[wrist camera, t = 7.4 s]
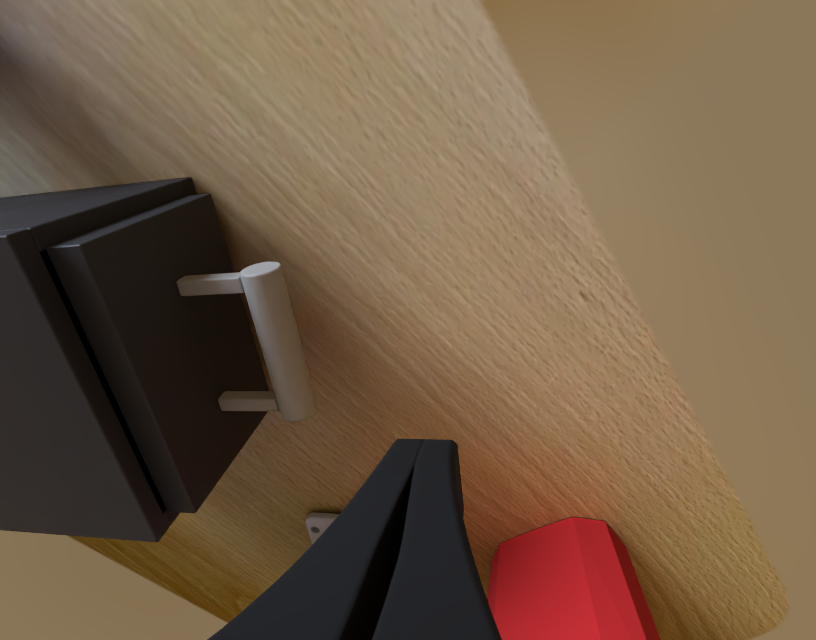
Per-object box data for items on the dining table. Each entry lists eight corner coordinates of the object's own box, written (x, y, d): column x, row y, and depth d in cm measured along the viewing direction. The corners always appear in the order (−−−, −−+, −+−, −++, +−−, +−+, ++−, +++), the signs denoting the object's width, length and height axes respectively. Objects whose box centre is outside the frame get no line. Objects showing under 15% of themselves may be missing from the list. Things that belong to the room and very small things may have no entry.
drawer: (302, 183, 18) (205, 234, 12) (350, 404, 23) (294, 520, 17) (2, 214, 21) (-189, 266, 15) (95, 403, 26) (-27, 500, 20)
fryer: (192, 176, 20) (5, 235, 12) (262, 404, 25) (158, 543, 17) (-25, 200, 22) (-287, 261, 15) (78, 403, 27) (-82, 524, 20)
